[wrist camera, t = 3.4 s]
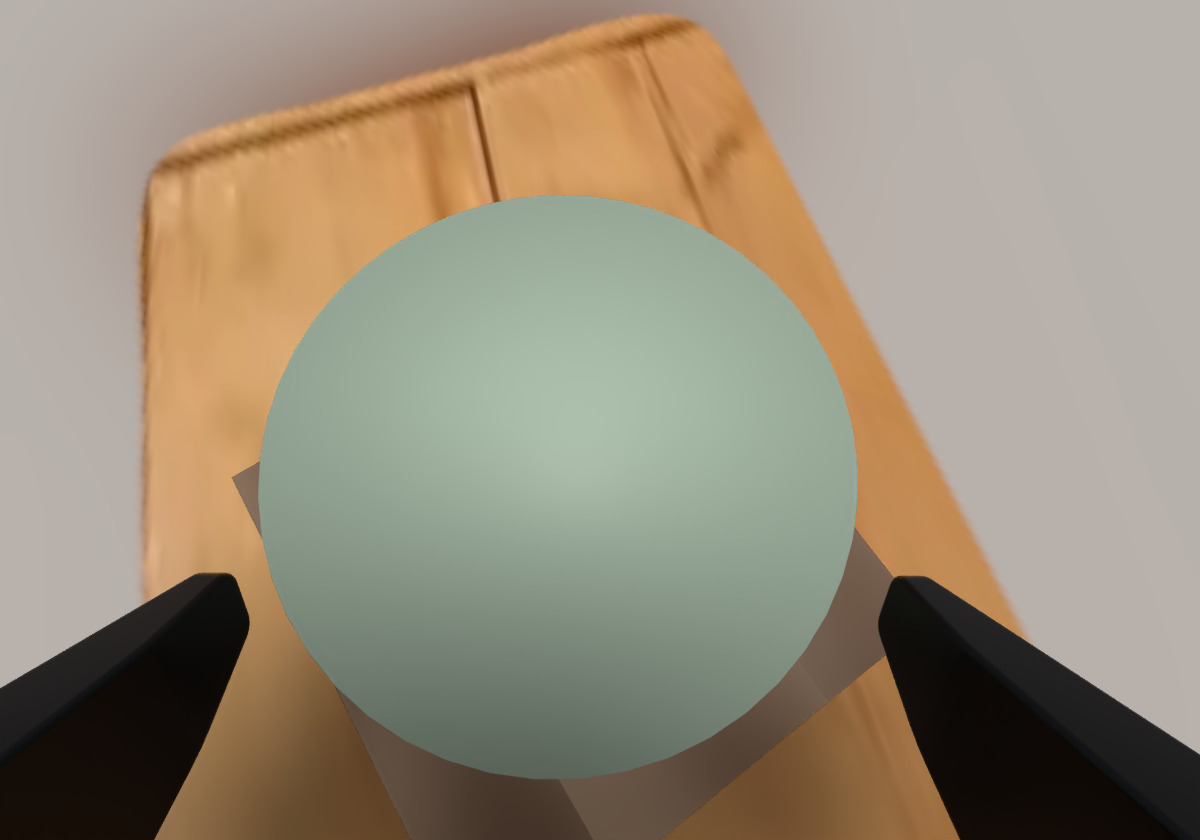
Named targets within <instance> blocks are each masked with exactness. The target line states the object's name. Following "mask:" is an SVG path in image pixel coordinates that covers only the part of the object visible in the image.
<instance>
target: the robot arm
mask: <svg viewBox="0 0 1200 840" xmlns="http://www.w3.org/2000/svg"><path fill="white" fill-rule="evenodd" d="M249 625H250V621H249V614H248V611H247V609H246V606H245V603H244V600H243V597H242V595H241V592H240V589H239V586H238V583H237V581H236V579H235V577H233V576H232V575H231V574H228V573H198V574H195V575H193V576H191V577H189V578H188V579H186V580H184V581H183V582H181V583H179V584H177V585H176V586H174V587H172V588H171V589H169V590H167V591H165V592H164V593H162V594H160V595H159V596H157V597H155V598H154V599H152V600H150V601H148V602H147V603H145V604H143V605H142V606H140V607H138V608H136V609H135V610H133V611H131V612H130V613H128V614H126V615H125V616H123V617H121V618H120V619H118V620H116V621H115V622H113V623H111V624H109V625H107V626H106V627H104V628H102V629H101V630H99V631H97V632H95V633H94V634H92V635H90V636H89V637H87V638H85V639H84V640H82V641H80V642H78V643H77V644H75V645H73V646H72V647H70V648H68V649H66V650H65V651H63V652H62V653H60V654H58V655H56V656H54V657H53V658H51V659H49V660H48V661H46V662H44V663H43V664H41V665H39V666H38V667H36V668H34V669H32V670H31V671H29V672H27V673H25V674H24V675H22V676H20V677H19V678H17V679H16V680H14V681H12V682H10V683H8V684H7V685H5V686H3V687H2V688H0V840H154V839H155V837H156V835H157V833H158V831H159V829H160V828H161V826H162V824H163V822H164V820H165V818H166V816H167V814H168V812H169V810H170V808H171V806H172V804H173V803H174V801H175V799H176V797H177V795H178V793H179V791H180V789H181V787H182V785H183V783H184V781H185V779H186V778H187V776H188V774H189V772H190V770H191V768H192V766H193V764H194V762H195V760H196V758H197V756H198V754H199V752H200V750H201V748H202V745H203V743H204V741H205V738H206V736H207V734H208V732H209V729H210V727H211V724H212V722H213V719H214V717H215V714H216V712H217V710H218V707H219V705H220V702H221V700H222V697H223V695H224V692H225V690H226V687H227V685H228V682H229V680H230V677H231V675H232V672H233V670H234V667H235V665H236V662H237V660H238V658H239V655H240V653H241V650H242V648H243V645H244V643H245V640H246V638H247V635H248V631H249ZM878 631H879V635H880V639H881V642H882V645H883V648H884V650H885V653H886V656H887V659H888V662H889V665H890V668H891V671H892V674H893V677H894V680H895V683H896V686H897V688H898V691H899V694H900V697H901V700H902V703H903V706H904V709H905V712H906V715H907V718H908V721H909V724H910V726H911V729H912V732H913V735H914V737H915V740H916V743H917V745H918V747H919V750H920V752H921V754H922V757H923V759H924V761H925V764H926V766H927V768H928V770H929V773H930V775H931V777H932V779H933V781H934V784H935V786H936V788H937V790H938V792H939V795H940V797H941V799H942V801H943V803H944V806H945V808H946V810H947V812H948V814H949V817H950V819H951V821H952V823H953V825H954V828H955V830H956V832H957V834H958V836H959V839H960V840H1200V754H1198V753H1197V752H1195V751H1194V750H1192V749H1191V748H1189V747H1188V746H1186V745H1184V744H1183V743H1181V742H1180V741H1178V740H1177V739H1175V738H1174V737H1172V736H1170V735H1169V734H1168V733H1166V732H1165V731H1163V730H1161V729H1160V728H1158V727H1157V726H1155V725H1154V724H1152V723H1151V722H1149V721H1148V720H1146V719H1145V718H1143V717H1142V716H1140V715H1139V714H1137V713H1135V712H1134V711H1132V710H1131V709H1129V708H1128V707H1126V706H1125V705H1123V704H1122V703H1120V702H1118V701H1117V700H1116V699H1114V698H1112V697H1111V696H1109V695H1108V694H1106V693H1105V692H1103V691H1102V690H1100V689H1099V688H1097V687H1096V686H1094V685H1093V684H1091V683H1089V682H1088V681H1086V680H1085V679H1083V678H1082V677H1080V676H1079V675H1077V674H1076V673H1074V672H1073V671H1071V670H1070V669H1068V668H1067V667H1065V666H1063V665H1062V664H1060V663H1059V662H1057V661H1056V660H1054V659H1053V658H1051V657H1050V656H1048V655H1046V654H1045V653H1044V652H1042V651H1040V650H1039V649H1037V648H1036V647H1034V646H1033V645H1031V644H1030V643H1028V642H1027V641H1025V640H1024V639H1022V638H1021V637H1019V636H1018V635H1016V634H1014V633H1013V632H1011V631H1010V630H1008V629H1007V628H1005V627H1004V626H1002V625H1001V624H999V623H998V622H996V621H995V620H993V619H991V618H990V617H988V616H987V615H985V614H984V613H982V612H981V611H979V610H978V609H976V608H975V607H973V606H972V605H970V604H968V603H967V602H965V601H964V600H962V599H961V598H959V597H958V596H956V595H955V594H953V593H952V592H950V591H949V590H947V589H946V588H944V587H942V586H941V585H939V584H938V583H936V582H935V581H933V580H932V579H930V578H928V577H925V576H897V577H895V578H894V579H893V580H892V581H891V583H890V586H889V589H888V592H887V594H886V597H885V600H884V603H883V606H882V609H881V612H880V614H879V618H878Z"/></svg>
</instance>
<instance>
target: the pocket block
mask: <svg viewBox="0 0 1200 840" xmlns="http://www.w3.org/2000/svg"><path fill="white" fill-rule="evenodd" d="M259 468H260V462H258V463H256V464H255V465H253V466H251V467H249V468H247V469H246V470H244V471H242V472H240V473H239V474H237V475H235V476H233V477H232V479H233V481H234V483H235V485H236V487H237V489H238V491H239V494H240V496H241V498H242V500H243V502H244V504H245V506H246V508H247V510H248V512H249V514H250V516H251V518H252V520H253V522H254V524H255V526H256V528H257V530H258V532H259V534H260V536H261V538H262V534H261V523H260V512H259V502H258V489H259ZM893 579H894V577H893V576H892V575H891V574H890V572H889V571H888V570H887V568H886V567H885V566H884V565H883V563H882V562H881V561H880V560H879V558H878V557H877V556H876V554H875V553H874V552H873V551H872V549H871V548H870V547H869V545H868V544H867V543H866V542H865V540H864V539H863V538H862V537H861V535H860V534H859V533H858V531H857V530H856V529H855V528H854V533H853V540H852V544H851V547H850V551H849V555H848V558H847V562H846V566H845V570H844V573H843V577H842V580H841V582H840V584H839V587H838V589H837V591H836V594H835V596H834V598H833V601H832V603H831V605H830V608H829V610H828V612H827V615H826V617H825V618H824V620H823V622H822V623H821V625H820V626H819V628H818V630H817V631H816V633H815V635H814V636H813V638H812V640H811V641H810V643H809V645H808V646H807V648H806V650H805V651H804V652H803V654H802V655H801V656H800V657H799V659H798V660H797V661H796V662H795V663H794V665H793V666H792V667H791V668H790V670H789V671H788V672H787V673H786V675H785V676H784V677H783V678H782V679H781V681H780V682H779V683H778V684H777V685H776V686H775V687H774V688H773V689H772V690H771V691H769V692H768V693H767V694H766V695H765V696H764V697H763V698H762V699H761V700H760V701H759V702H758V703H756V704H755V705H754V706H753V707H752V708H751V709H750V710H749V711H748V712H747V713H745V714H744V715H742V716H741V717H740V718H738V719H737V720H735V721H734V722H732V723H731V724H729V725H728V726H726V727H725V728H723V729H722V730H721V731H719V732H718V733H716V734H715V735H713V736H712V737H710V738H709V739H706V740H704V741H702V742H700V743H698V744H696V745H694V746H692V747H690V748H688V749H686V750H684V751H682V752H680V753H678V754H676V755H674V756H672V757H670V758H667V759H663V760H660V761H657V762H654V763H651V764H648V765H645V766H641V767H638V768H635V769H632V770H629V771H625V772H619V773H613V774H607V775H601V776H594V777H588V778H582V779H530V778H523V777H515V776H508V775H501V774H494V773H488V772H485V771H481V770H478V769H475V768H471V767H468V766H465V765H461V764H458V763H455V762H451V761H448V760H445V759H443V758H441V757H439V756H436V755H434V754H432V753H430V752H428V751H426V750H424V749H422V748H419V747H417V746H415V745H413V744H411V743H409V742H407V741H405V740H403V739H402V738H400V737H399V736H397V735H396V734H394V733H393V732H391V731H390V730H388V729H387V728H385V727H384V726H382V725H381V724H379V723H378V722H376V721H375V720H373V719H372V718H370V717H369V716H368V715H366V714H365V713H364V712H363V711H362V710H361V709H360V708H359V707H358V706H357V705H356V704H354V703H353V702H352V701H351V700H350V699H349V698H348V697H347V696H346V695H345V694H344V693H342V692H341V691H340V690H339V689H338V688H337V687H336V686H335V685H334V686H335V688H336V690H337V692H338V694H339V696H340V698H341V700H342V702H343V704H344V706H345V708H346V710H347V712H348V714H349V716H350V718H351V720H352V722H353V724H354V726H355V728H356V730H357V732H358V734H359V736H360V738H361V740H362V742H363V744H364V746H365V748H366V750H367V752H368V754H369V757H370V759H371V761H372V763H373V765H374V767H375V769H376V771H377V773H378V775H379V777H380V779H381V781H382V783H383V785H384V787H385V789H386V791H387V793H388V795H389V797H390V799H391V801H392V803H393V805H394V807H395V809H396V811H397V813H398V815H399V817H400V819H401V821H402V823H403V825H404V827H405V829H406V831H407V833H408V835H409V837H410V839H411V840H661V839H662V838H663V837H665V836H666V835H667V834H668V833H669V832H671V831H672V830H673V829H674V828H676V827H677V826H678V825H679V824H680V823H682V822H683V821H684V820H685V819H686V818H688V817H689V816H690V815H691V814H693V813H694V812H695V811H696V810H697V809H699V808H700V807H701V806H702V805H704V804H705V803H706V802H707V801H708V800H710V799H711V798H712V797H713V796H714V795H716V794H717V793H718V792H719V791H721V790H722V789H723V788H724V787H725V786H727V785H728V784H729V783H730V782H732V781H733V780H734V779H735V778H736V777H738V776H739V775H740V774H741V773H742V772H744V771H745V770H746V769H747V768H749V767H750V766H751V765H752V764H753V763H755V762H756V761H757V760H758V759H760V758H761V757H762V756H763V755H764V754H766V753H767V752H768V751H769V750H771V749H772V748H773V747H774V746H775V745H777V744H778V743H779V742H780V741H781V740H783V739H784V738H785V737H786V736H788V735H789V734H790V733H791V732H792V731H794V730H795V729H796V728H797V727H799V726H800V725H801V724H802V723H803V722H805V721H806V720H807V719H808V718H809V717H811V716H812V715H813V714H814V713H816V712H817V711H818V710H819V709H820V708H822V707H823V706H824V705H825V704H827V703H828V702H829V701H830V700H831V699H833V698H834V697H835V696H836V695H837V694H839V693H840V692H841V691H842V690H844V689H845V688H846V687H847V686H848V685H850V684H851V683H852V682H853V681H855V680H856V679H857V678H858V677H859V676H861V675H862V674H863V673H864V672H866V671H867V670H868V669H869V668H870V667H872V666H873V665H874V664H875V663H876V662H878V661H879V660H880V659H881V658H883V657H884V656H885V655H886V653H885V650H884V648H883V645H882V642H881V639H880V635H879V631H878V618H879V614H880V612H881V609H882V606H883V603H884V600H885V597H886V594H887V592H888V589H889V586H890V583H891V581H892V580H893Z"/></svg>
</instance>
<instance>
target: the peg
mask: <svg viewBox="0 0 1200 840" xmlns="http://www.w3.org/2000/svg"><path fill="white" fill-rule="evenodd" d="M258 502H259V512H260V523H261V534H262V540H263V544H264V548H265V553H266V557H267V561H268V565H269V569H270V573H271V577H272V580H273V582H274V585H275V587H276V590H277V592H278V595H279V597H280V600H281V602H282V605H283V607H284V610H285V612H286V615H287V617H288V618H289V620H290V622H291V624H292V625H293V627H294V629H295V630H296V632H297V634H298V636H299V637H300V639H301V641H302V642H303V644H304V646H305V648H306V649H307V651H308V653H309V654H310V655H311V656H312V658H313V659H314V660H315V661H316V663H317V664H318V665H319V666H320V668H321V669H322V670H323V671H324V673H325V674H326V675H327V676H328V677H329V679H330V680H331V681H332V682H333V684H334V685H335V686H336V687H337V688H338V689H339V690H340V691H341V692H342V693H344V694H345V695H346V696H347V697H348V698H349V699H350V700H351V701H352V702H353V703H354V704H356V705H357V706H358V707H359V708H360V709H361V710H362V711H363V712H364V713H365V714H366V715H368V716H369V717H370V718H372V719H373V720H375V721H376V722H378V723H379V724H381V725H382V726H384V727H385V728H387V729H388V730H390V731H391V732H393V733H394V734H396V735H397V736H399V737H400V738H402V739H403V740H405V741H407V742H409V743H411V744H413V745H415V746H417V747H419V748H422V749H424V750H426V751H428V752H430V753H432V754H434V755H436V756H439V757H441V758H443V759H445V760H448V761H451V762H455V763H458V764H461V765H465V766H468V767H471V768H475V769H478V770H481V771H485V772H488V773H494V774H501V775H508V776H515V777H523V778H530V779H582V778H588V777H594V776H601V775H607V774H613V773H619V772H625V771H629V770H632V769H635V768H638V767H641V766H645V765H648V764H651V763H654V762H657V761H660V760H663V759H667V758H670V757H672V756H674V755H676V754H678V753H680V752H682V751H684V750H686V749H688V748H690V747H692V746H694V745H696V744H698V743H700V742H702V741H704V740H706V739H709V738H710V737H712V736H713V735H715V734H716V733H718V732H719V731H721V730H722V729H723V728H725V727H726V726H728V725H729V724H731V723H732V722H734V721H735V720H737V719H738V718H740V717H741V716H742V715H744V714H745V713H747V712H748V711H749V710H750V709H751V708H752V707H753V706H754V705H755V704H756V703H758V702H759V701H760V700H761V699H762V698H763V697H764V696H765V695H766V694H767V693H768V692H769V691H771V690H772V689H773V688H774V687H775V686H776V685H777V684H778V683H779V682H780V681H781V679H782V678H783V677H784V676H785V675H786V673H787V672H788V671H789V670H790V668H791V667H792V666H793V665H794V663H795V662H796V661H797V660H798V659H799V657H800V656H801V655H802V654H803V652H804V651H805V650H806V648H807V646H808V645H809V643H810V641H811V640H812V638H813V636H814V635H815V633H816V631H817V630H818V628H819V626H820V625H821V623H822V622H823V620H824V618H825V617H826V615H827V612H828V610H829V608H830V605H831V603H832V601H833V598H834V596H835V594H836V591H837V589H838V587H839V584H840V582H841V580H842V577H843V573H844V570H845V566H846V562H847V558H848V555H849V551H850V547H851V544H852V540H853V533H854V525H855V517H856V509H857V502H858V485H857V457H856V450H855V443H854V435H853V428H852V424H851V420H850V416H849V413H848V409H847V405H846V402H845V398H844V395H843V391H842V389H841V386H840V384H839V381H838V379H837V377H836V374H835V372H834V369H833V367H832V365H831V362H830V360H829V358H828V356H827V354H826V352H825V351H824V349H823V347H822V345H821V344H820V342H819V340H818V338H817V337H816V335H815V333H814V331H813V330H812V328H811V326H810V325H809V324H808V322H807V321H806V320H805V318H804V317H803V316H802V314H801V313H800V312H799V310H798V309H797V308H796V306H795V305H794V304H793V302H792V301H791V300H790V299H789V298H788V297H787V296H786V294H785V293H784V292H783V291H782V290H781V289H780V288H779V287H778V286H777V285H776V284H775V283H774V282H773V281H772V280H771V279H770V278H769V277H768V276H767V275H766V274H765V273H764V272H763V271H762V270H760V269H759V268H758V267H757V266H755V265H754V264H753V263H752V262H751V261H749V260H748V259H747V258H746V257H745V256H743V255H742V254H741V253H740V252H738V251H736V250H735V249H733V248H732V247H730V246H729V245H727V244H726V243H724V242H723V241H721V240H720V239H718V238H717V237H715V236H713V235H712V234H710V233H708V232H706V231H704V230H702V229H700V228H698V227H696V226H694V225H692V224H690V223H688V222H686V221H684V220H681V219H679V218H676V217H673V216H671V215H668V214H665V213H662V212H660V211H657V210H654V209H652V208H648V207H644V206H640V205H636V204H632V203H627V202H623V201H619V200H612V199H605V198H597V197H590V196H567V195H548V196H536V197H525V198H516V199H511V200H506V201H501V202H496V203H491V204H486V205H483V206H479V207H476V208H473V209H470V210H467V211H463V212H460V213H457V214H454V215H451V216H449V217H447V218H445V219H442V220H440V221H438V222H436V223H433V224H431V225H429V226H427V227H424V228H422V229H420V230H418V231H417V232H415V233H413V234H412V235H410V236H408V237H406V238H405V239H403V240H401V241H400V242H398V243H396V244H394V245H393V246H391V247H390V248H388V249H387V250H386V251H384V252H383V253H382V254H380V255H379V256H378V257H376V258H375V259H374V260H372V261H371V262H370V263H368V264H367V265H366V266H364V267H363V268H362V269H361V270H360V271H359V272H358V273H357V274H356V275H355V276H354V277H353V278H352V279H350V280H349V281H348V282H347V283H346V284H345V285H344V286H343V287H342V288H341V289H340V290H339V291H338V292H337V293H336V294H335V295H334V297H333V298H332V299H331V300H330V301H329V303H328V304H327V305H326V306H325V308H324V309H323V310H322V311H321V312H320V314H319V315H318V316H317V317H316V318H315V320H314V321H313V323H312V324H311V326H310V327H309V329H308V331H307V332H306V334H305V335H304V337H303V338H302V340H301V341H300V343H299V345H298V346H297V348H296V349H295V351H294V353H293V355H292V357H291V359H290V361H289V364H288V366H287V368H286V370H285V372H284V374H283V376H282V378H281V380H280V382H279V385H278V388H277V391H276V394H275V397H274V400H273V403H272V406H271V409H270V412H269V415H268V419H267V423H266V428H265V433H264V439H263V444H262V450H261V455H260V468H259V489H258Z"/></svg>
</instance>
